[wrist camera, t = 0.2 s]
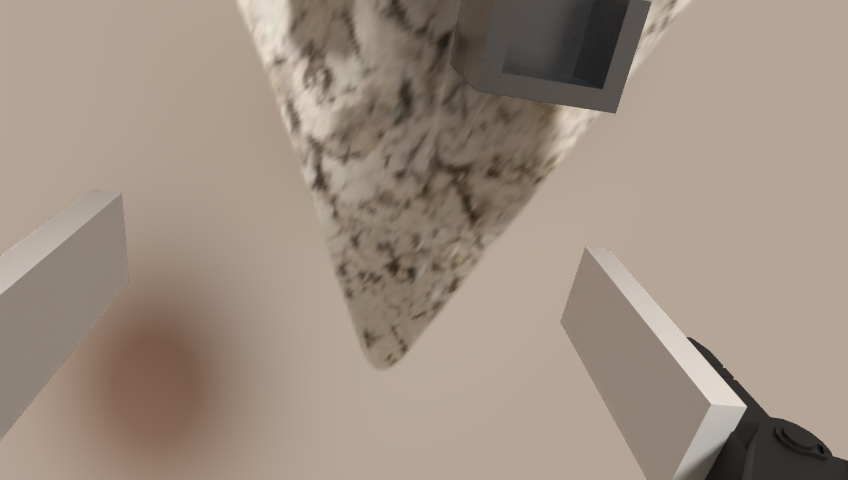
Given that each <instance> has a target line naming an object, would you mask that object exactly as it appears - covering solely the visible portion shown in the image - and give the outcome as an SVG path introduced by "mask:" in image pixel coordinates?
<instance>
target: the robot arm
mask: <svg viewBox="0 0 848 480" xmlns="http://www.w3.org/2000/svg"><path fill="white" fill-rule="evenodd" d="M128 283H129V272H128V261H127V249H126V237H125V225H124V214H123V202H122V193H120V192H111V191H102V190H93V189H90V190H89V191H88V192H86V193H85V194H83V195H82V196H81V197H79V198H78V199H77V200H75V201H74V202H73V203H71V204H70V205H69V206H67V207H66V208H64V209H63V210H62V211H60V212H59V213H58V214H56V215H55V216H54V217H52V218H51V219H49V220H48V221H47V222H45V223H44V224H43V225H41V226H40V227H39V228H37V229H36V230H35V231H33V232H32V233H30V234H29V235H28V236H26V237H25V238H24V239H22V240H21V241H19V242H18V243H17V244H16V245H14V246H13V247H11V248H10V249H9V250H7V251H6V252H5V253H3V254H2V255H0V440H1V439H2V438H3V437H4V435H5V434H6V433H7V432H8V430H9V429H10V428H11V427H12V426H13V424H14V423H15V422H16V421H17V419H18V418H19V417H20V416H21V415H22V413H23V412H24V411H25V410H26V408H27V407H28V406H29V405H30V403H31V402H32V401H33V400H34V398H35V397H36V396H37V395H38V394H39V392H40V391H41V390H42V389H43V387H44V386H45V385H46V384H47V382H48V381H49V380H50V379H51V378H52V376H53V375H54V374H55V373H56V371H57V370H58V369H59V368H60V366H61V365H62V364H63V363H64V362H65V360H66V359H67V358H68V357H69V355H70V354H71V353H72V352H73V350H74V349H75V348H76V347H77V346H78V344H79V343H80V342H81V341H82V339H83V338H84V337H85V336H86V335H87V333H88V332H89V331H90V329H91V328H92V327H93V326H94V325H95V323H96V322H97V321H98V320H99V318H100V317H101V316H102V315H103V314H104V312H105V311H106V310H107V309H108V307H109V306H110V305H111V304H112V303H113V301H114V300H115V299H116V298H117V296H118V295H119V294H120V293H121V291H122V290H123V289H124V288H125V287H126V285H127V284H128ZM561 324H562V326H563V328H564V329H565V331H566V333H567V335H568V337H569V339H570V340H571V342H572V344H573V346H574V348H575V349H576V351H577V353H578V355H579V357H580V359H581V360H582V362H583V364H584V366H585V367H586V369H587V371H588V373H589V375H590V377H591V379H592V380H593V382H594V384H595V386H596V388H597V390H598V391H599V393H600V395H601V397H602V399H603V400H604V402H605V404H606V406H607V408H608V409H609V411H610V413H611V415H612V417H613V419H614V420H615V422H616V424H617V426H618V428H619V430H620V431H621V433H622V435H623V437H624V439H625V441H626V442H627V444H628V446H629V448H630V450H631V451H632V453H633V455H634V457H635V459H636V460H637V462H638V464H639V466H640V468H641V470H642V471H643V473H644V475H645V477H646V479H647V480H848V461H847V460H844V459H840V458H837V457H833V456H832V453H831V451H830V450H829V449H828V448H827V447H826V445H825V444H824V443H823V442H822V441H821V440H819V439H818V438H817V437H816V436H814V435H813V434H812V433H811V432H809V431H807V430H805V429H804V428H802V427H800V426H798V425H797V424H794V423H792V422H789V421H786V420H784V419H779V418H772V417H769V416H768V414H767V413H766V412H765V411H764V410H763V409H762V408H761V407H760V406H759V404H758V403H757V402H756V401H755V400H754V399H753V398H752V397H751V396H750V395H749V394H748V392H747V391H746V390H745V389H744V388H743V387H742V386H741V385H740V384H739V382H738V381H736V380H734V379H733V376H732V375H731V374H730V373H729V371H728V370H727V369H726V368H723V365H722V364H721V363H720V362H719V361H718V359H717V358H716V357H715V356H714V355H713V354H712V353H711V352H710V351H709V350H708V349H706V348H705V347H704V346H702V345H701V344H699V343H698V342H696V341H695V340H693V339H692V338H689V337H685V335H684V334H683V333H682V332H681V331H680V330H679V329H678V327H677V326H676V325H675V324H674V323H673V322H672V321H671V319H670V318H669V317H668V316H667V315H666V314H665V313H664V312H663V310H662V309H661V308H660V307H659V306H658V305H657V304H656V302H655V301H654V300H653V299H652V298H651V297H650V296H649V294H647V292H646V291H645V290H644V289H643V288H642V286H641V285H640V284H639V283H638V282H637V281H636V280H635V279H634V277H633V276H632V275H631V274H630V273H629V272H628V271H627V269H626V268H625V267H624V266H623V265H622V264H621V263H620V262H619V260H618V259H617V258H616V257H615V256H614V255H613V254H612V253H611V251H610V250H609V249H601V248H592V247H585V250H584V252H583V255H582V258H581V261H580V264H579V268H578V270H577V273H576V276H575V279H574V282H573V285H572V288H571V291H570V295H569V297H568V301H567V303H566V307H565V310H564V313H563V316H562V319H561Z"/></svg>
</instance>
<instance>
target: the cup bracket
mask: <svg viewBox="0 0 848 480" xmlns="http://www.w3.org/2000/svg"><path fill="white" fill-rule="evenodd" d="M650 5H651V2H649V1H644V0H462V2H461V8H460V13H459V19H458V24H457V30H456V35H455V41H454V46H453V52H452V57H451V63H450V64H451V65H452V66H453V67H454V68H455V69H456V70H457V71H458V73H459V74H460V75H461V76H462V77H463V78H464V79H465V80H466V81H467V82H468V83H469V84H470V85H471V86H472V87H473V88H474V89H475V91H479V92H485V93H491V94H497V95H503V96H510V97H516V98H522V99H528V100H535V101H541V102H547V103H553V104H559V105H566V106H572V107H578V108H584V109H591V110H597V111H603V112H610V113H616V111H617V108H618V104H619V101H620V98H621V95H622V92H623V89H624V86H625V83H626V80H627V76H628V73H629V70H630V67H631V64H632V61H633V58H634V55H635V52H636V49H637V45H638V42H639V39H640V36H641V33H642V30H643V27H644V24H645V21H646V18H647V14H648V11H649V8H650Z"/></svg>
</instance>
